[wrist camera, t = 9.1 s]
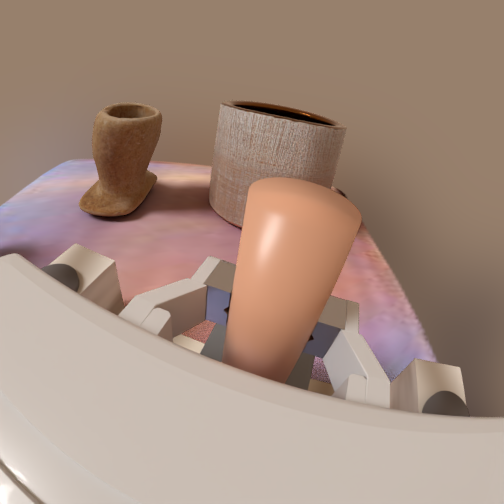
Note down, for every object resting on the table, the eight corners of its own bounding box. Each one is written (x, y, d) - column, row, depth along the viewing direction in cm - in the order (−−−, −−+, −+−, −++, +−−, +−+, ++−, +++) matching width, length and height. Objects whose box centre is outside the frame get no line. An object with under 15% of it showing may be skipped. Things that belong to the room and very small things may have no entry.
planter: (309, 195, 51) (330, 116, 42) (330, 249, 37) (367, 138, 28) (215, 180, 50) (226, 97, 41) (198, 230, 35) (210, 107, 26)
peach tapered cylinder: (295, 384, 17) (391, 191, 9) (269, 475, 12) (442, 333, 4) (213, 357, 18) (240, 147, 10) (171, 441, 13) (116, 231, 5)
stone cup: (143, 228, 34) (143, 111, 25) (70, 218, 33) (60, 114, 24) (173, 183, 46) (179, 99, 38) (114, 178, 45) (114, 98, 37)
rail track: (408, 411, 18) (463, 364, 14) (402, 505, 11) (474, 481, 6) (92, 304, 22) (74, 239, 18) (34, 372, 15) (-8, 310, 11)
